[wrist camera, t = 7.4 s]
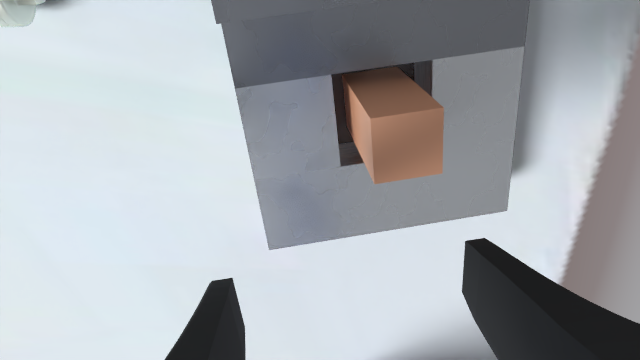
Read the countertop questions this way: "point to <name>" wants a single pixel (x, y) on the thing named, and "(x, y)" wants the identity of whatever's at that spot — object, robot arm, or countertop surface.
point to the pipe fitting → (17, 12)
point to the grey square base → (320, 121)
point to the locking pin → (394, 124)
